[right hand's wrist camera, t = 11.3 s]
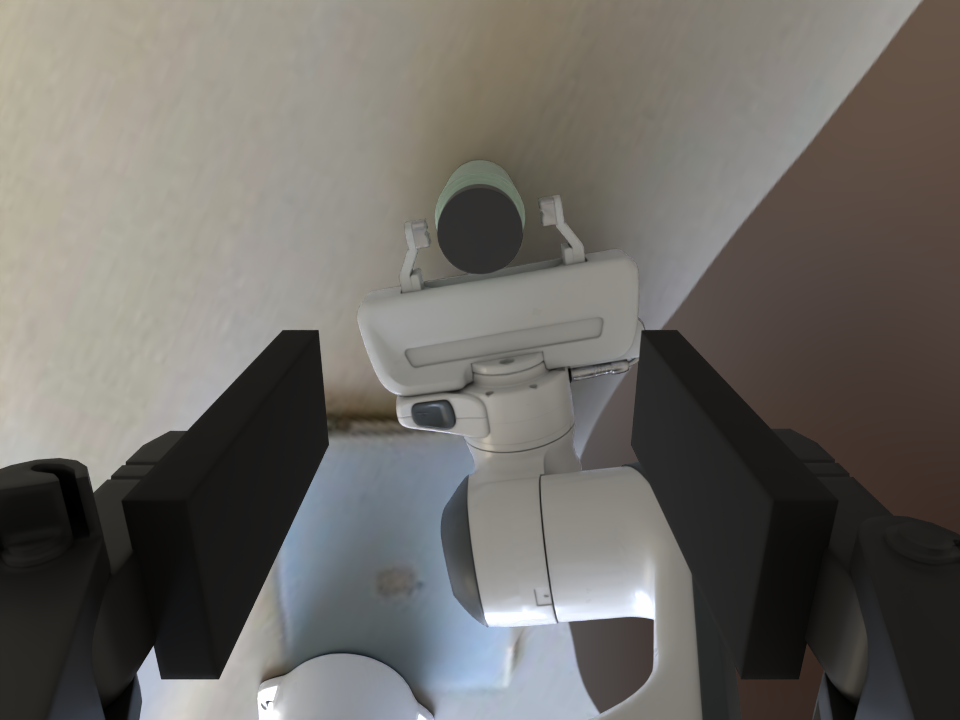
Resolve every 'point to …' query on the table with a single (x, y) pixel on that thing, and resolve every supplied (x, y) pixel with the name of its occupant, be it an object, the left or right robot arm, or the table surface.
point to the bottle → (480, 175)
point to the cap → (479, 229)
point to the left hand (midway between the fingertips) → (481, 209)
